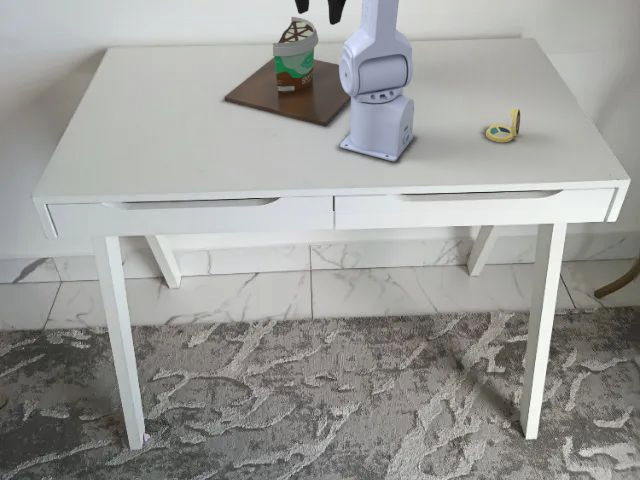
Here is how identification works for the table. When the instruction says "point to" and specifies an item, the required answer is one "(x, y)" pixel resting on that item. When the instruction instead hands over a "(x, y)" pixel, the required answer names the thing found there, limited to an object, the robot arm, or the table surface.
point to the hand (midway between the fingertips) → (319, 17)
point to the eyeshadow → (505, 129)
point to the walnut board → (306, 106)
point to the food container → (295, 57)
